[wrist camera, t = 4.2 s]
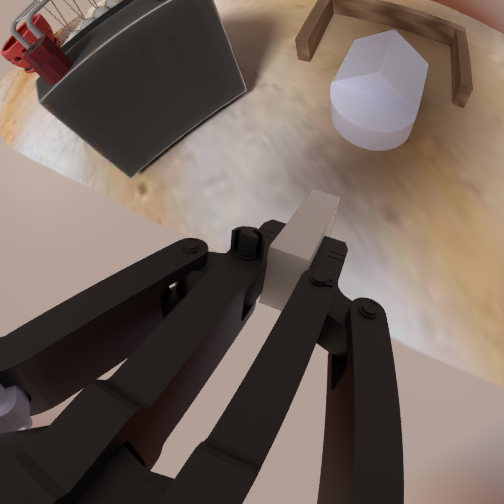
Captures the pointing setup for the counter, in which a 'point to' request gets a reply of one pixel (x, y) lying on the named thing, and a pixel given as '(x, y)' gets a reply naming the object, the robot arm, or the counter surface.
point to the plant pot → (16, 50)
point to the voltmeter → (138, 77)
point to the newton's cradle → (110, 2)
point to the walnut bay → (372, 8)
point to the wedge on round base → (378, 91)
